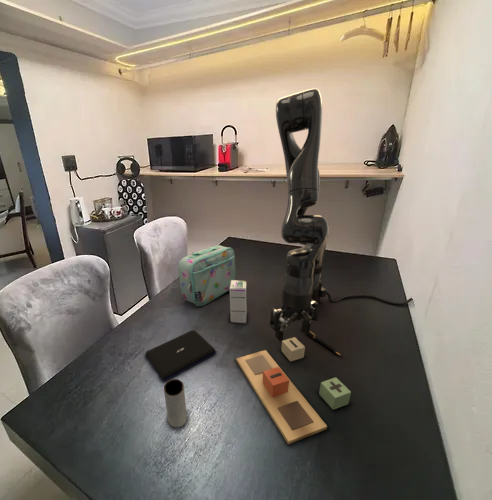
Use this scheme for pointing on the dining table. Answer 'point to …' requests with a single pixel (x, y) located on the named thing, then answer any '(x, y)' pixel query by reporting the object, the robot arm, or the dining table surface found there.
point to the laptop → (179, 354)
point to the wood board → (281, 400)
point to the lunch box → (207, 274)
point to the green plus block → (334, 393)
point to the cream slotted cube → (293, 349)
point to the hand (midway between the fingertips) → (292, 336)
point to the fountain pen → (321, 342)
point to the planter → (175, 403)
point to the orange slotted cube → (275, 381)
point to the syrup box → (238, 301)
